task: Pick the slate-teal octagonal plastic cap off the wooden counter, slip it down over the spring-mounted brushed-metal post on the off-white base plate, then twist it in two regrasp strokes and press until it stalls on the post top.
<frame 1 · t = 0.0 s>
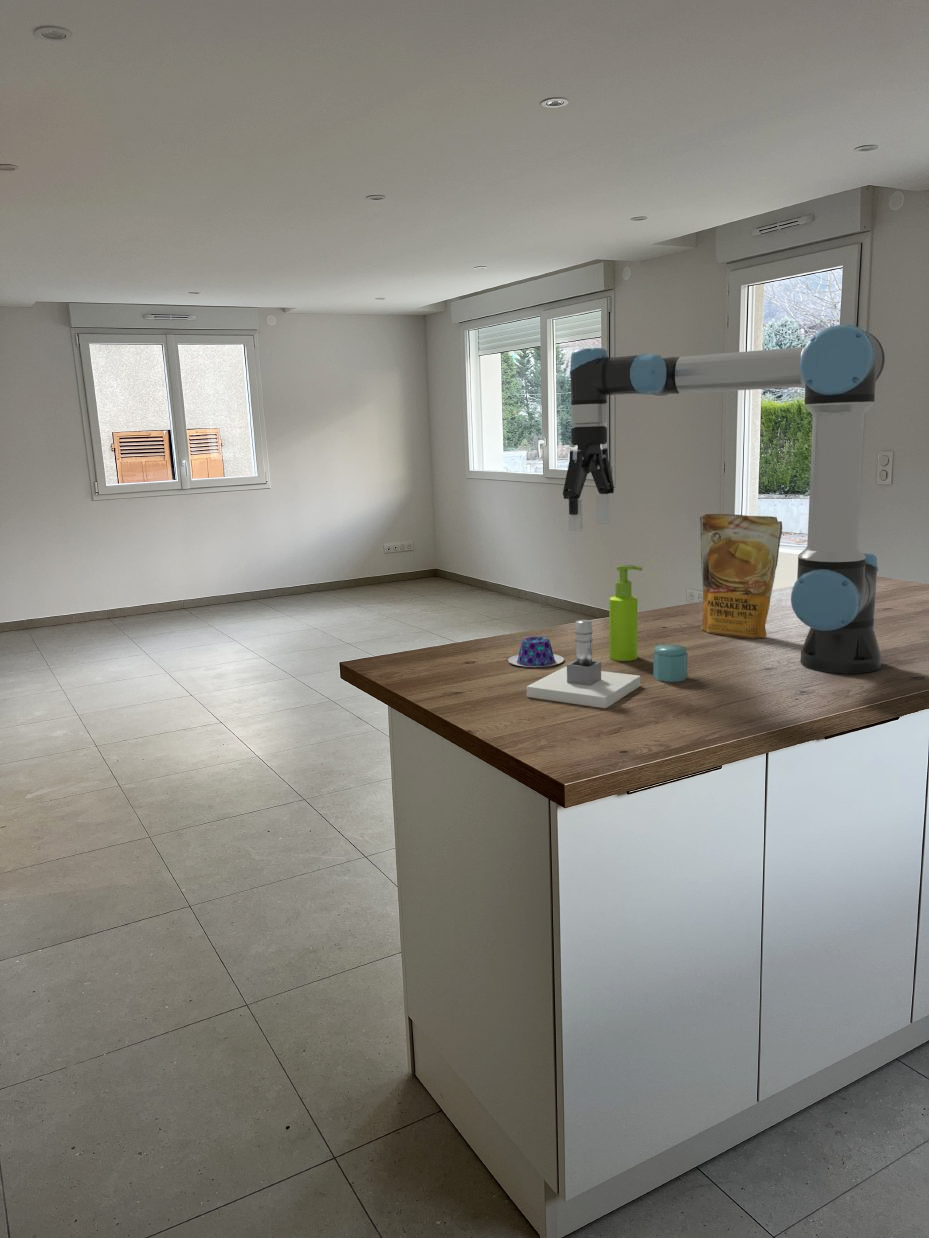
hand: (589, 527, 193), 28 cm above the table, fingers open, 13 cm apart
cap: (670, 677, 178), on the table
post base: (584, 691, 171), on the table
soap dispenser: (625, 658, 194), on the table
patterned brimmed hat: (536, 663, 194), on the table
post: (583, 647, 169), point 8 cm above the table, slide at 0.1 cm
pancake mix bag: (734, 634, 213), on the table
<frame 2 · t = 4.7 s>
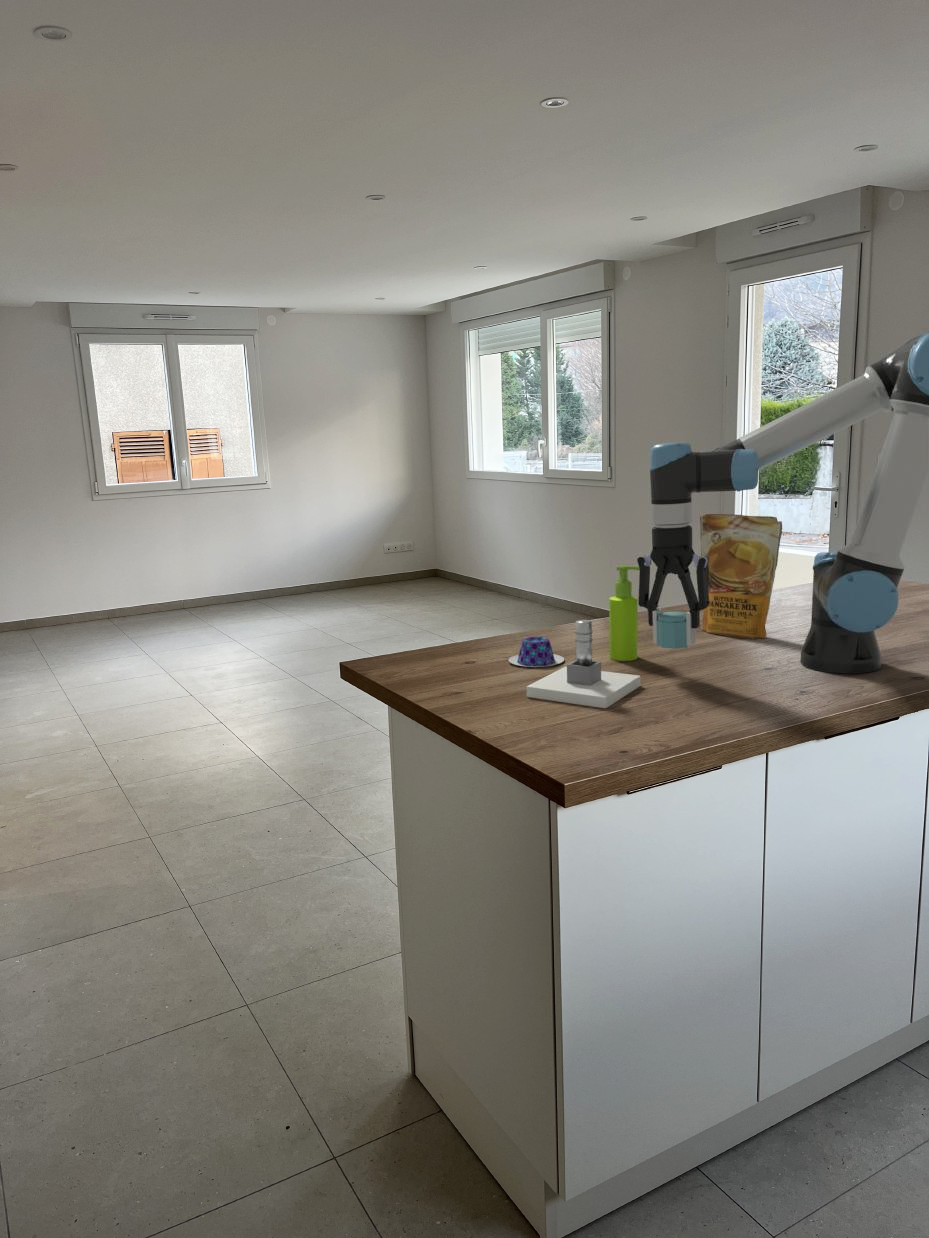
hand: (674, 643, 176), 7 cm above the table, fingers closed on cap, 6 cm apart
cap: (674, 644, 176), point 7 cm above the table, touching gripper
everything else where it was.
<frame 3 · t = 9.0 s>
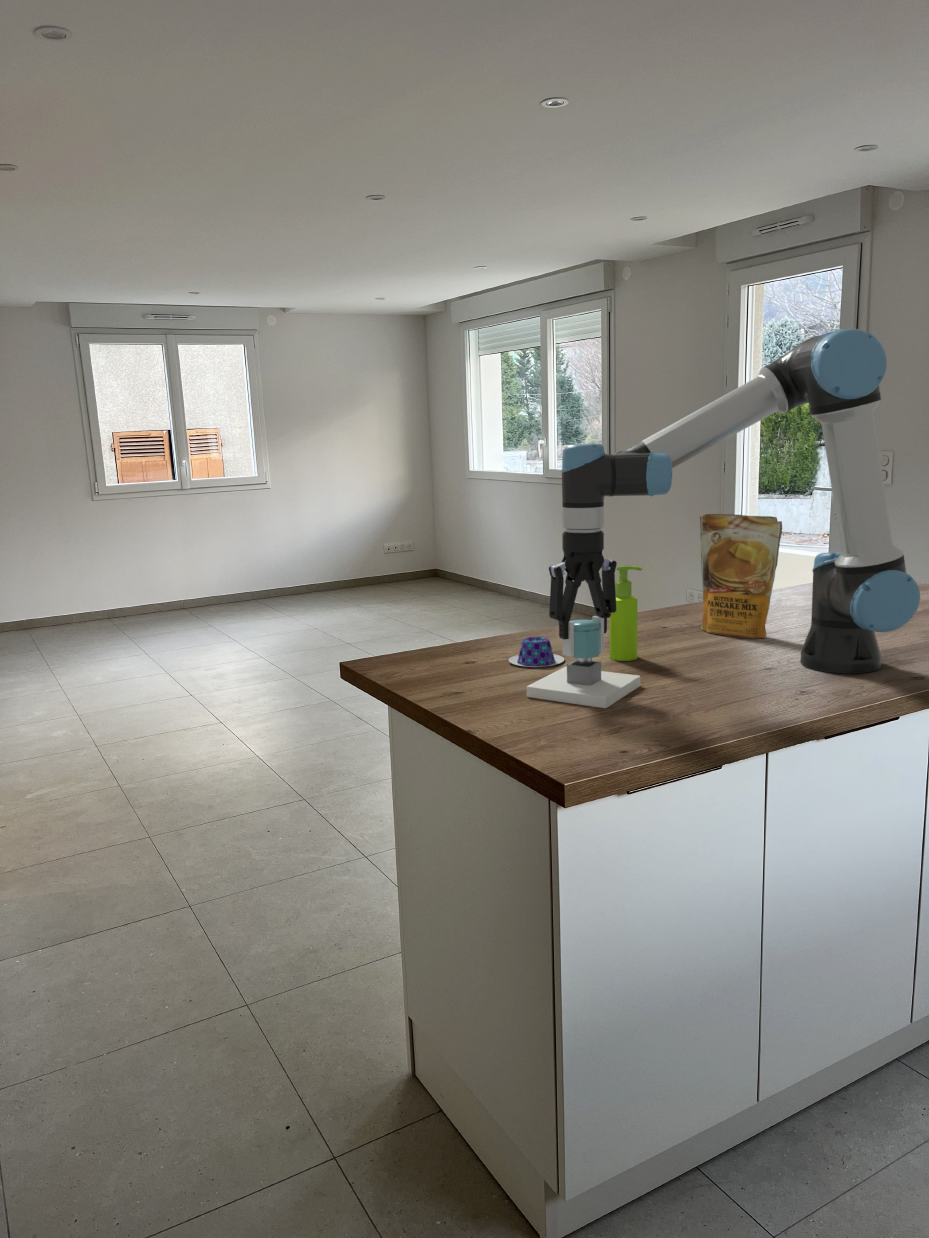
hand: (583, 652, 169), 8 cm above the table, fingers closed on cap, 6 cm apart
cap: (583, 654, 169), point 7 cm above the table, touching gripper, post
post: (583, 653, 169), point 7 cm above the table, slide at 1.3 cm, touching cap
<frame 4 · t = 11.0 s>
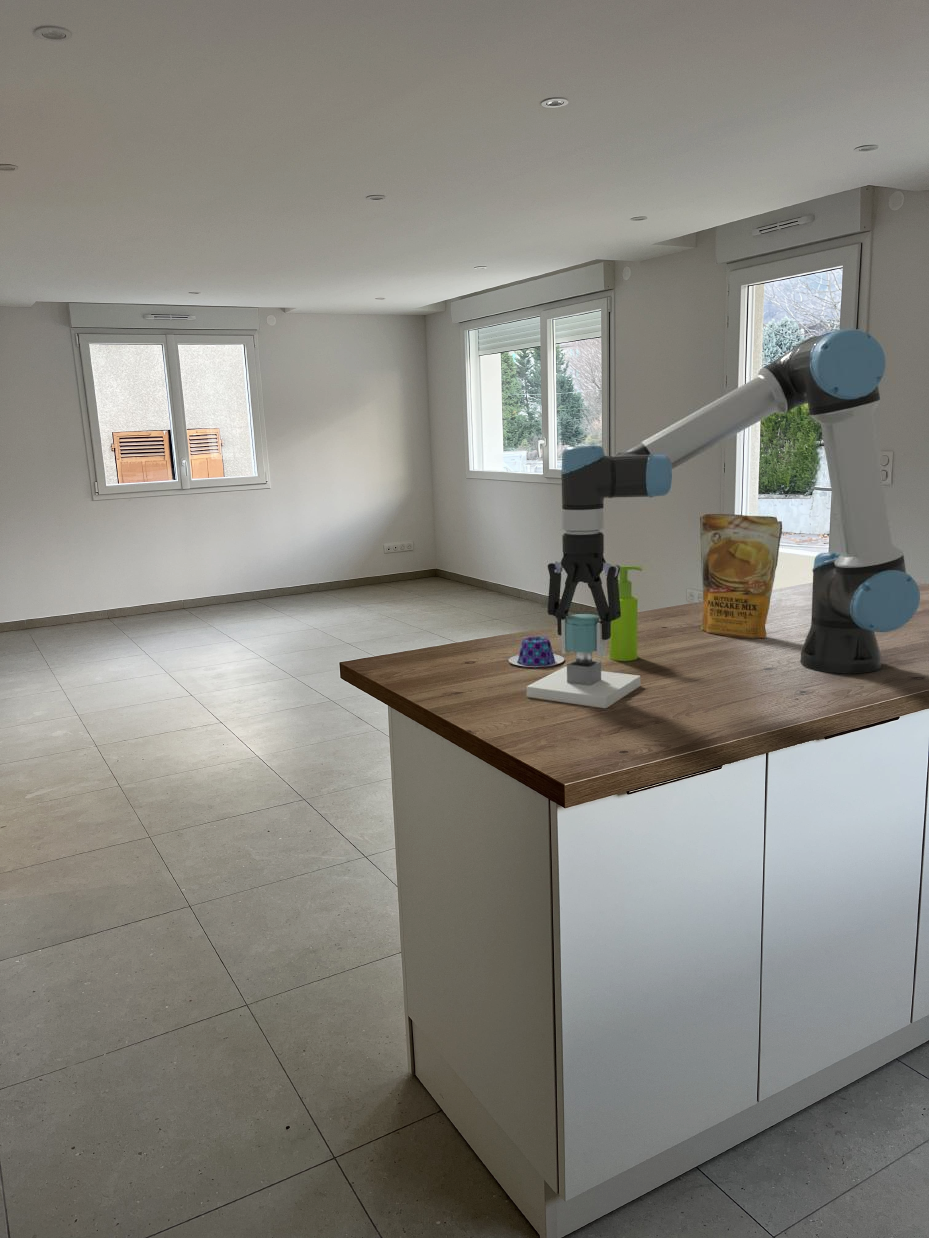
hand: (584, 654, 169), 7 cm above the table, fingers closed on cap, 6 cm apart
cap: (583, 648, 169), point 8 cm above the table, touching gripper, post
post: (583, 648, 169), point 8 cm above the table, slide at 0.2 cm, touching cap
when the fingers open (6 cm above the table, at t = 11.9 s): cap stays where it is, resting on post.
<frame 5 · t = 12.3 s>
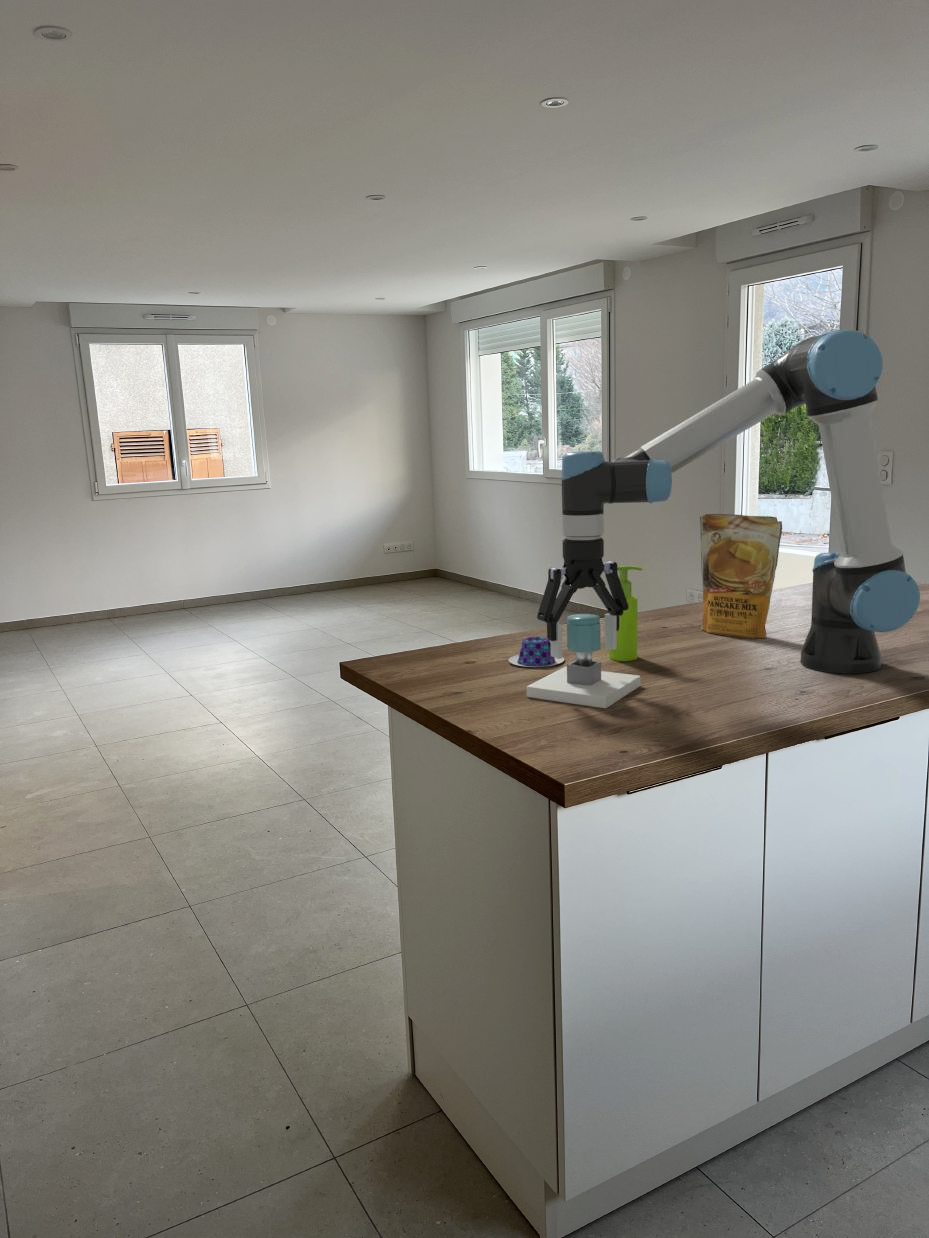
hand: (583, 652, 169), 7 cm above the table, fingers open, 11 cm apart
cap: (583, 648, 169), point 8 cm above the table, touching post
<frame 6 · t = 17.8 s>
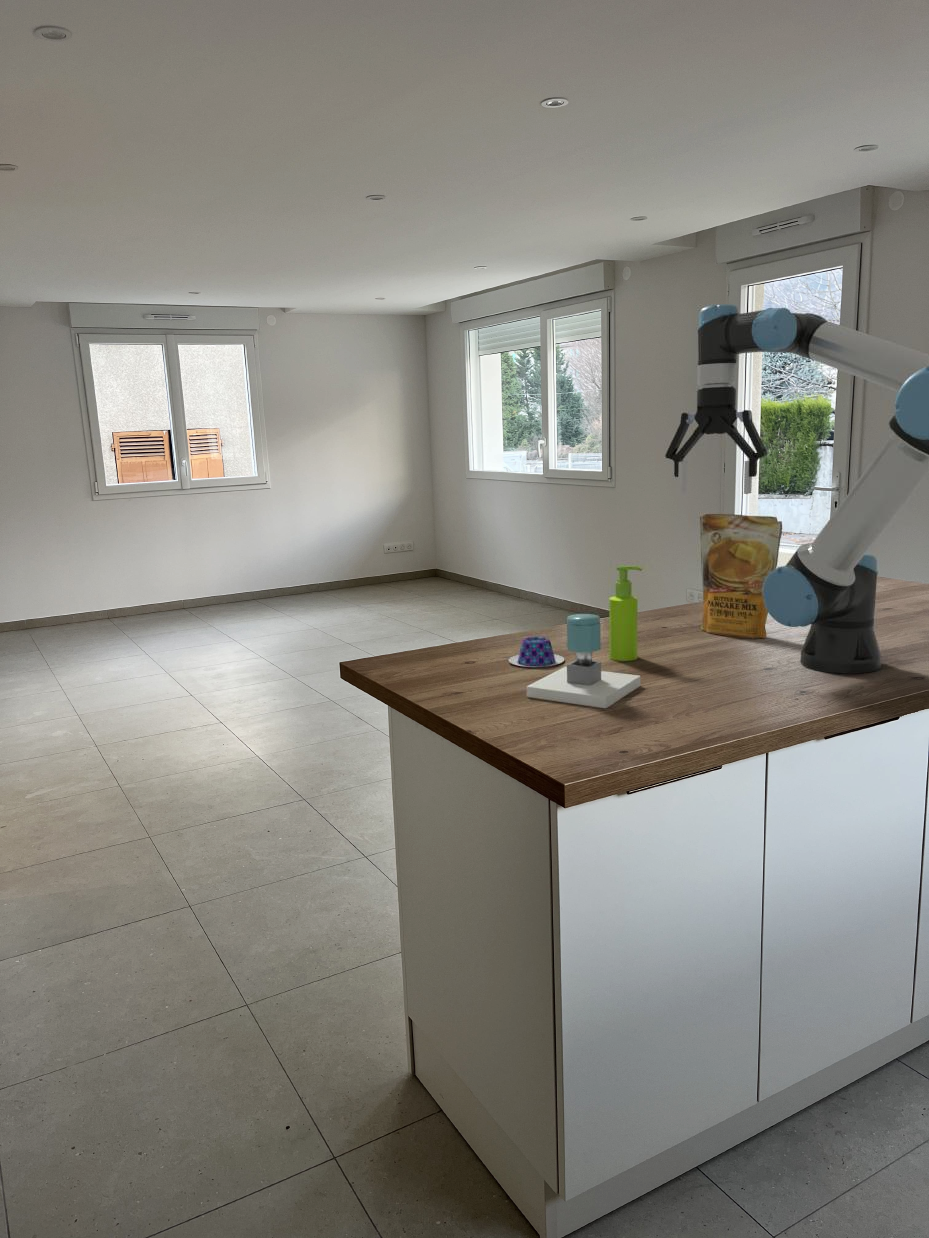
hand: (714, 493, 185), 35 cm above the table, fingers open, 13 cm apart
at the end: cap 0.2 cm off-centre on the post base, point 8.4 cm above the post base's base; cap tilted 0°; the gripper is holding nothing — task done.
